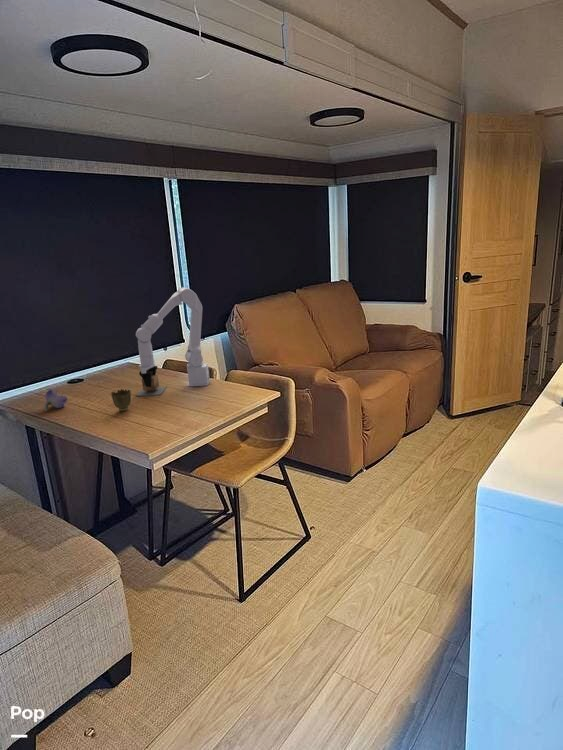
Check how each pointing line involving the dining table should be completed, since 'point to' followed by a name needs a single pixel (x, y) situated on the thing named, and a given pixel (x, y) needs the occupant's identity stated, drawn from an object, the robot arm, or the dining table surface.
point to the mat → (152, 392)
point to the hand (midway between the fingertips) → (150, 384)
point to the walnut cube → (153, 383)
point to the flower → (54, 399)
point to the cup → (122, 399)
